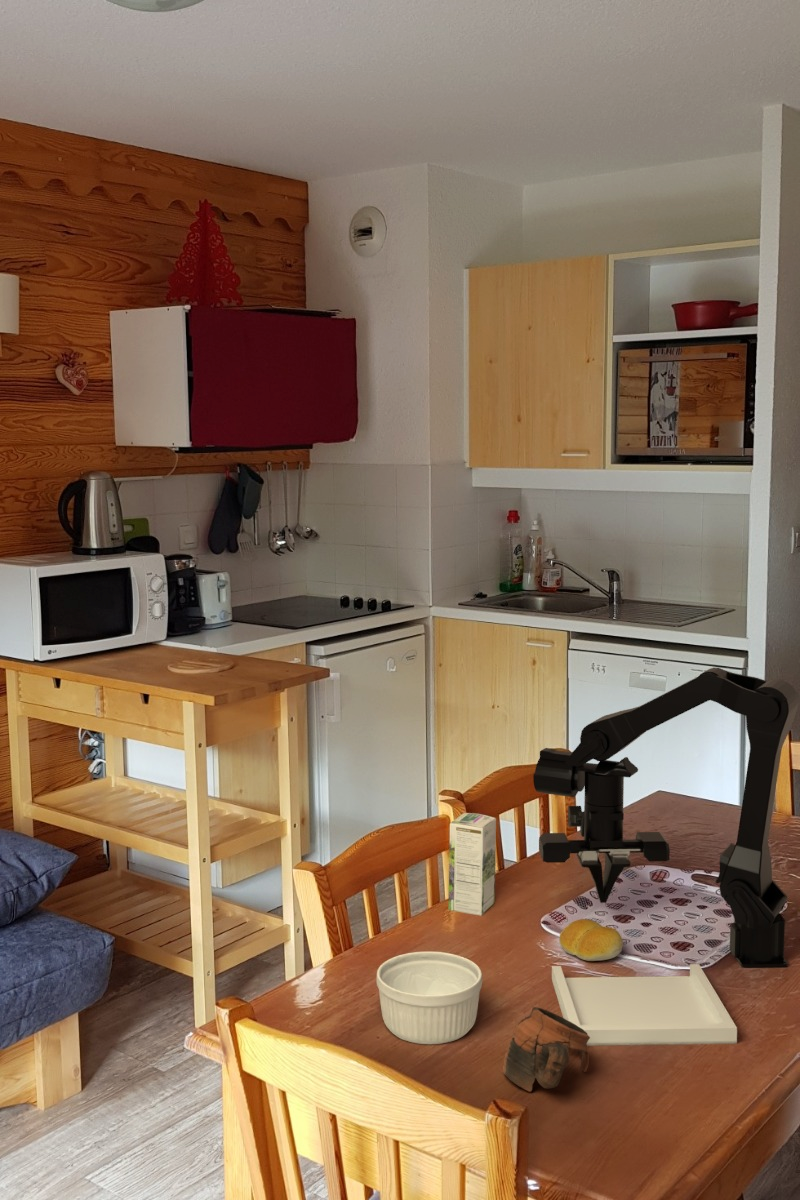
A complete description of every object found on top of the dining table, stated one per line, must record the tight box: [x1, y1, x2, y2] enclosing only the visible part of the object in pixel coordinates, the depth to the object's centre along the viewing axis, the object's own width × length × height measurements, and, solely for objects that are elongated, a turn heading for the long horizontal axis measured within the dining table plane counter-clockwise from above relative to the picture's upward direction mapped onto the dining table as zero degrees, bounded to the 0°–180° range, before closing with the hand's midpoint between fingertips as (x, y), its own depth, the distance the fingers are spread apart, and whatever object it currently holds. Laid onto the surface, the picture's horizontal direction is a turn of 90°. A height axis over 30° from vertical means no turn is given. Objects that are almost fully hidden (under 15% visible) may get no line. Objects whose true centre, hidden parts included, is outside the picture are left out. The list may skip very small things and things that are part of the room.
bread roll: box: [558, 918, 624, 962], centre depth 171 cm, size 8×9×4 cm
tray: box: [551, 963, 738, 1047], centre depth 154 cm, size 20×18×2 cm
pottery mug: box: [502, 1006, 590, 1093], centre depth 137 cm, size 12×9×8 cm
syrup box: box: [448, 812, 497, 917], centre depth 188 cm, size 6×6×14 cm
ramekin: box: [376, 951, 483, 1045], centre depth 150 cm, size 13×13×7 cm
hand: (602, 901), depth 180 cm, fingers closed
